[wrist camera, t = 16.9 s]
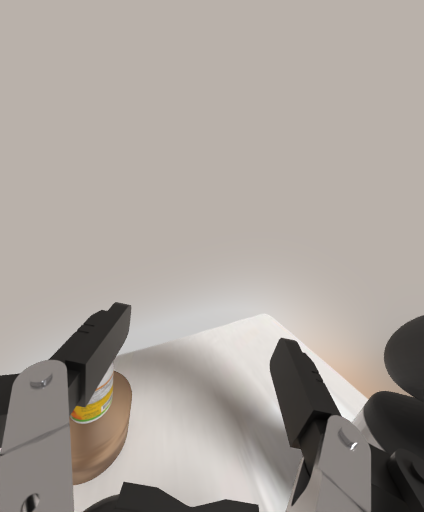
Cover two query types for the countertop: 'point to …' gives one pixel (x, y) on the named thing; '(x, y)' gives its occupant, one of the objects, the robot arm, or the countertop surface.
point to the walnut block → (101, 435)
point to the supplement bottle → (96, 401)
